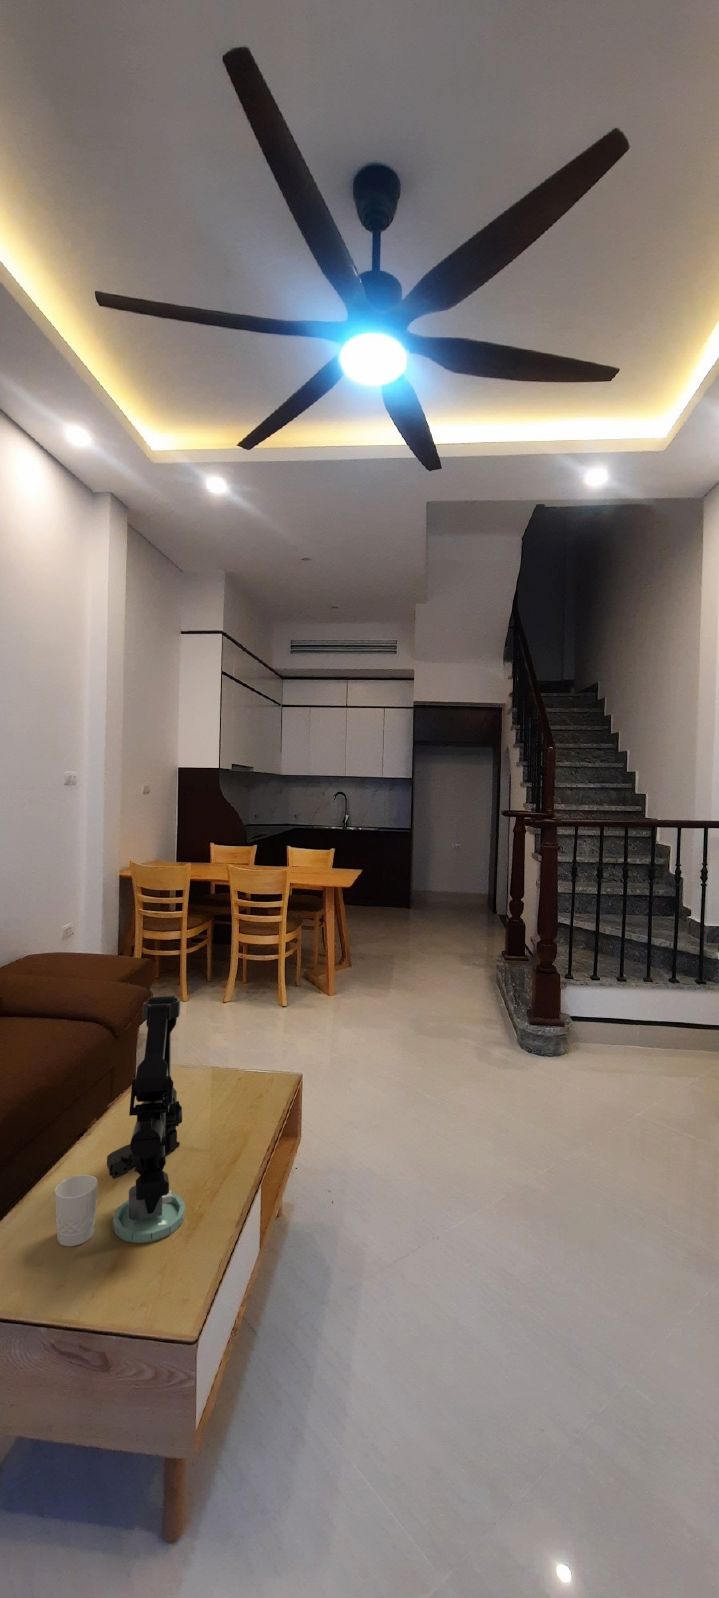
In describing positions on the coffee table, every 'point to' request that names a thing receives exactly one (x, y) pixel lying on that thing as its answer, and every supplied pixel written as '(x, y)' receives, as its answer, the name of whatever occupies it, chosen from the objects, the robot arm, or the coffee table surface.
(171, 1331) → the coffee table surface
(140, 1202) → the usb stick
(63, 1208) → the white cup
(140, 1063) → the robot arm
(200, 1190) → the coffee table surface
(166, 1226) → the dish
